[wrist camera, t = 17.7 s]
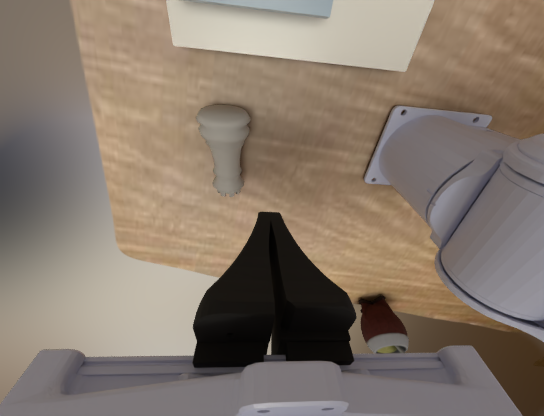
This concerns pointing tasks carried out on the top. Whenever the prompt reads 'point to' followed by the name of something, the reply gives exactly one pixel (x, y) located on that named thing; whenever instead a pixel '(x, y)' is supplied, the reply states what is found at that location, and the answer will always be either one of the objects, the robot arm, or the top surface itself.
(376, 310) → the mate gourd
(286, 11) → the blue frame with block
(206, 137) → the rook chess piece
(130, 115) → the top surface
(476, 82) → the top surface
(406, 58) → the cream rectangular board
